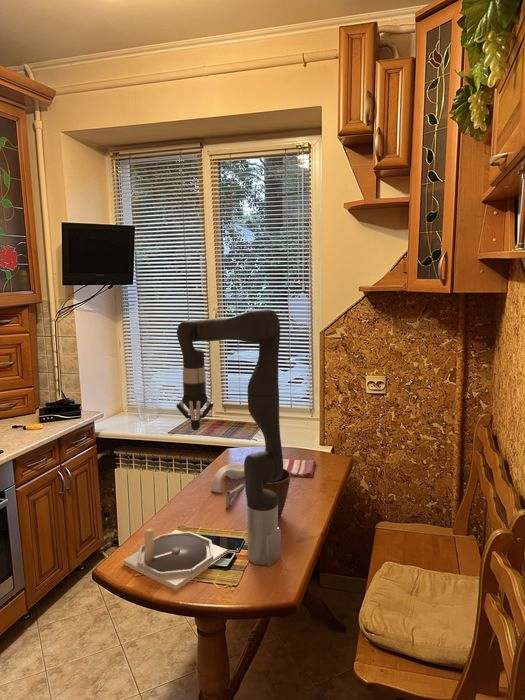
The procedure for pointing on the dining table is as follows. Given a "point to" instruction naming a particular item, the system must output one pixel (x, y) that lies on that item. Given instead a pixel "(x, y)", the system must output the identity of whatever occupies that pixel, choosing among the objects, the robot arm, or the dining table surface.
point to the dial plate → (180, 576)
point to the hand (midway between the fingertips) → (195, 429)
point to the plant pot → (280, 489)
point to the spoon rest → (231, 471)
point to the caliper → (232, 495)
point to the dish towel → (299, 467)
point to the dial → (173, 552)
